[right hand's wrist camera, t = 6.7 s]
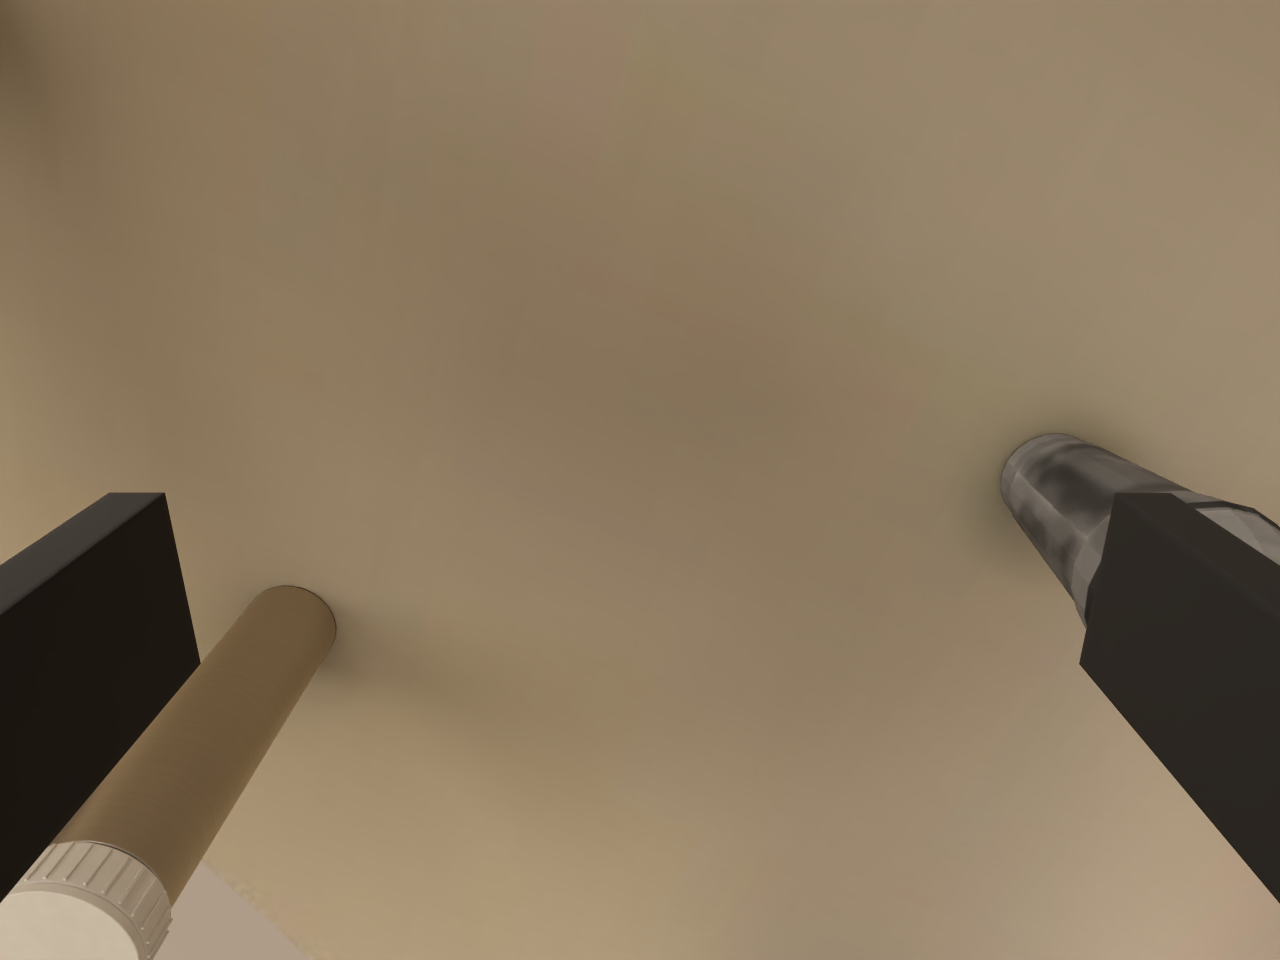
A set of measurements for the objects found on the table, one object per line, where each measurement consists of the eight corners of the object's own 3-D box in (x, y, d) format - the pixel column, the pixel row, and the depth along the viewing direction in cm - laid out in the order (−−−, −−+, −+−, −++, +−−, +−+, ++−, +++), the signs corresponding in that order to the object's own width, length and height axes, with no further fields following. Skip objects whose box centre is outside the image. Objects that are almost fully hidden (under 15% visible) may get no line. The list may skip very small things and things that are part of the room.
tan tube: (291, 569, 44) (53, 862, 26) (354, 631, 45) (169, 951, 27) (229, 617, 45) (-41, 932, 27) (293, 676, 46) (75, 1013, 28)
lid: (83, 812, 27) (41, 862, 25) (207, 910, 29) (176, 965, 27) (-20, 889, 28) (-66, 942, 26) (105, 980, 30) (69, 1036, 28)
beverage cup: (1006, 573, 43) (1280, 899, 25) (946, 453, 41) (1198, 714, 23) (1148, 503, 42) (1552, 792, 23) (1094, 375, 40) (1493, 584, 21)
